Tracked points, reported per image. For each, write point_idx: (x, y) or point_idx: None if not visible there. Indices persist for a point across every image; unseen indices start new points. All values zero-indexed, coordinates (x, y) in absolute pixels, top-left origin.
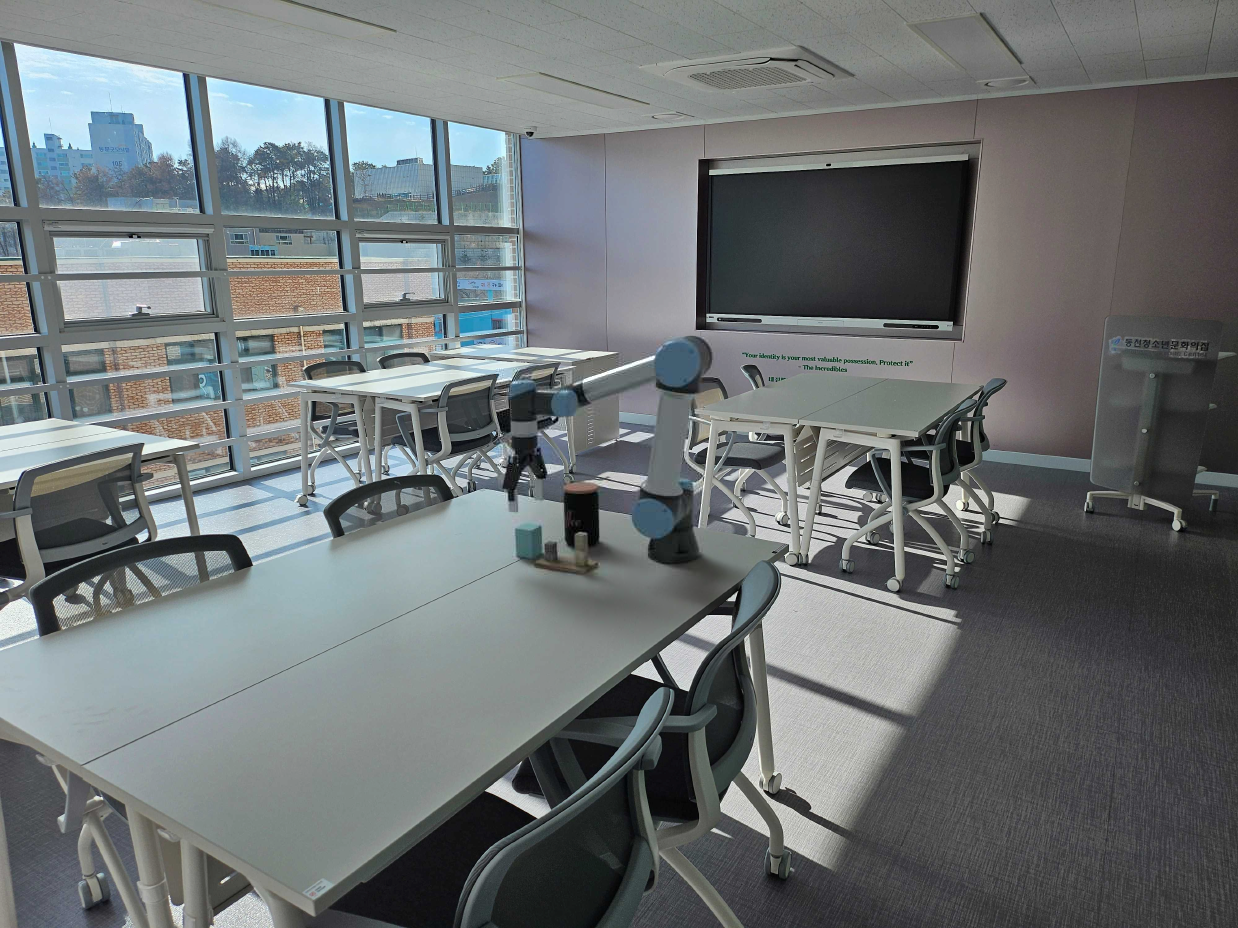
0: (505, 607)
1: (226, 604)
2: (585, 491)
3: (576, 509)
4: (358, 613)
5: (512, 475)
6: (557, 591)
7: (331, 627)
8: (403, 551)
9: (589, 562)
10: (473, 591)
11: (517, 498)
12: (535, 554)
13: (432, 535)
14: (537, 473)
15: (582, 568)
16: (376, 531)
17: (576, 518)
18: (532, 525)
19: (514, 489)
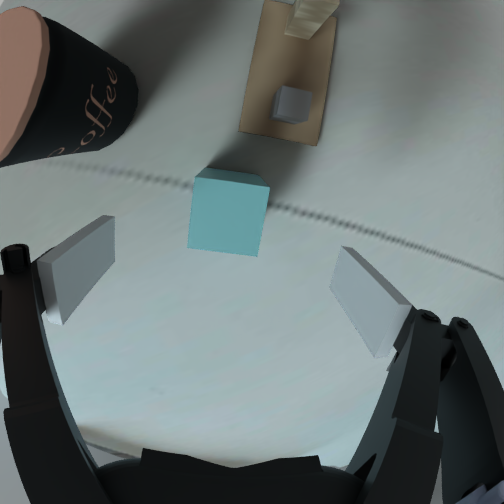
0: (486, 146)
1: None
2: (39, 16)
3: (89, 68)
4: (482, 322)
5: (496, 377)
6: (427, 66)
7: (499, 320)
8: (275, 416)
9: (278, 14)
10: (448, 223)
11: (375, 276)
12: (242, 173)
13: (185, 416)
14: (40, 319)
15: (324, 22)
16: (203, 459)
17: (106, 76)
18: (205, 210)
19: (430, 311)
